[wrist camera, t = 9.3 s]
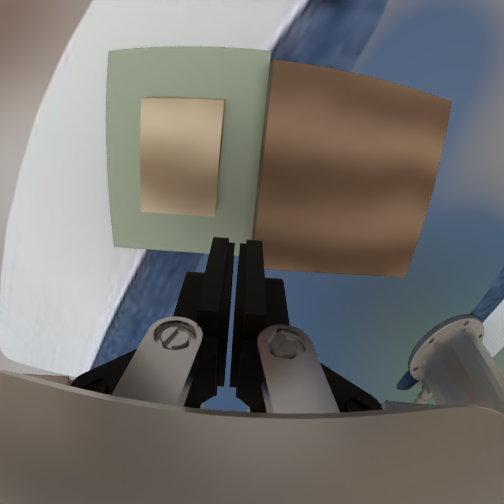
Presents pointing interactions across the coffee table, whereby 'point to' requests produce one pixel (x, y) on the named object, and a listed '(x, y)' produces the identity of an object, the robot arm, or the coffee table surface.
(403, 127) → the walnut board
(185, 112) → the maple tile
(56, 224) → the coffee table surface
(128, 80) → the rubber mat
